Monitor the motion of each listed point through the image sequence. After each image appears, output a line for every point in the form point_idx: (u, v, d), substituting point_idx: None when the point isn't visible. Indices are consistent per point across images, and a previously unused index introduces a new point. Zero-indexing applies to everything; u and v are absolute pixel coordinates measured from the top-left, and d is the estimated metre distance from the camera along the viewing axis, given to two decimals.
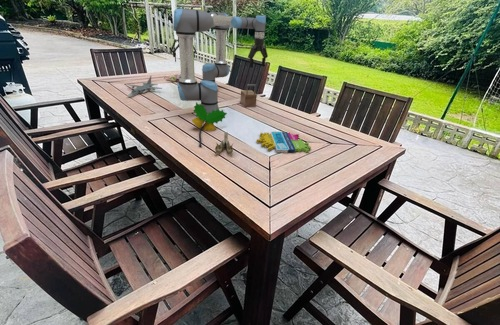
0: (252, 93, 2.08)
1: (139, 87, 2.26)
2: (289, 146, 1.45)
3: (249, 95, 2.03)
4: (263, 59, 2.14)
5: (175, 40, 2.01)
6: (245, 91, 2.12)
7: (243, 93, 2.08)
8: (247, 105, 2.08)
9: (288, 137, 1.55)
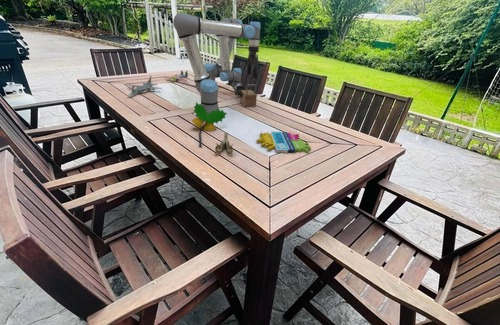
0: (252, 93, 2.07)
1: (139, 87, 2.26)
2: (289, 146, 1.45)
3: (249, 95, 2.03)
4: None
5: (249, 53, 1.95)
6: (245, 91, 2.12)
7: (243, 93, 2.08)
8: (247, 105, 2.08)
9: (288, 137, 1.55)
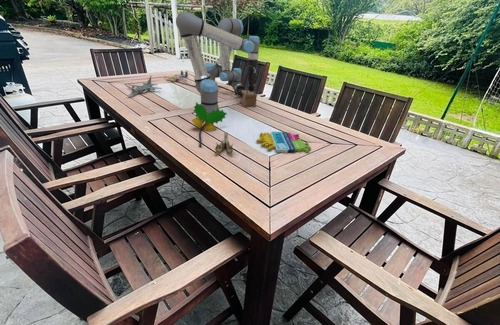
0: (252, 93, 2.08)
1: (139, 87, 2.26)
2: (289, 146, 1.45)
3: (249, 95, 2.03)
4: None
5: (248, 68, 2.00)
6: (245, 91, 2.12)
7: (243, 93, 2.08)
8: (247, 105, 2.08)
9: (288, 137, 1.55)
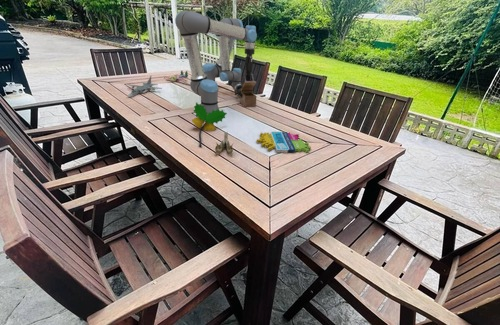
0: None
1: (139, 87, 2.26)
2: (289, 146, 1.45)
3: (248, 81, 2.02)
4: None
5: (245, 57, 2.04)
6: None
7: (242, 86, 2.07)
8: (247, 105, 2.08)
9: (288, 137, 1.55)
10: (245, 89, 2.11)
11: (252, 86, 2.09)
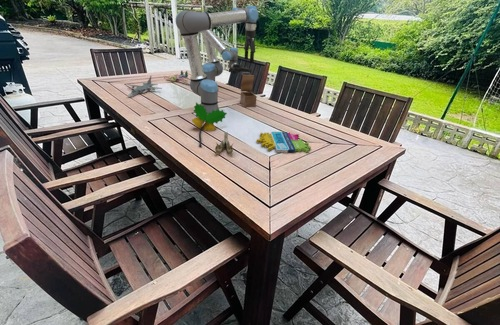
0: None
1: (139, 87, 2.26)
2: (289, 146, 1.45)
3: (246, 75, 2.05)
4: None
5: (246, 37, 1.99)
6: None
7: None
8: (247, 105, 2.08)
9: (288, 137, 1.55)
10: (244, 87, 2.12)
11: (251, 82, 2.10)
